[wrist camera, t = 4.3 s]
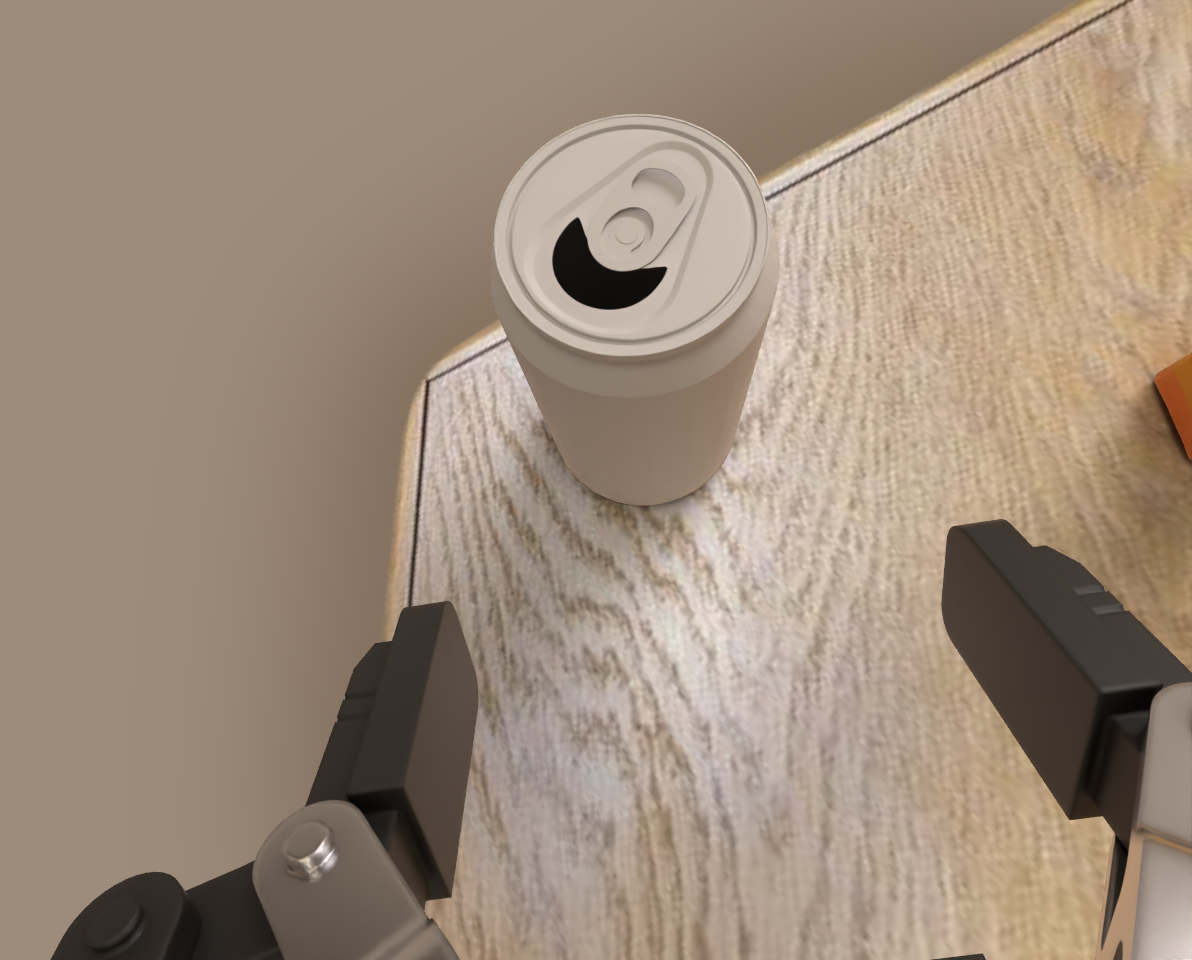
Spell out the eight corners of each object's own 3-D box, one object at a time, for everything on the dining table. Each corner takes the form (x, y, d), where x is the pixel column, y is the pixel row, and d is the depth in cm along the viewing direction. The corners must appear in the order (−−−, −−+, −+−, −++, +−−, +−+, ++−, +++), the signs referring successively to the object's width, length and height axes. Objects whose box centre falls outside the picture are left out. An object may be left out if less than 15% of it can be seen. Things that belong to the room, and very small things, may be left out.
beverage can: (521, 448, 27) (411, 272, 15) (621, 311, 28) (590, 49, 16) (669, 546, 25) (673, 434, 14) (769, 398, 26) (850, 179, 15)
